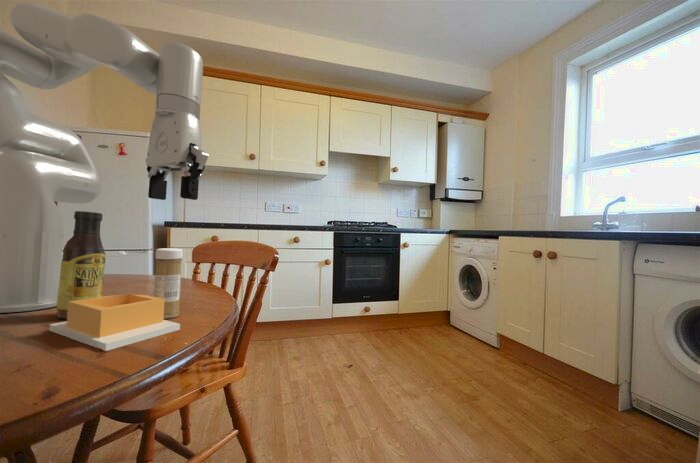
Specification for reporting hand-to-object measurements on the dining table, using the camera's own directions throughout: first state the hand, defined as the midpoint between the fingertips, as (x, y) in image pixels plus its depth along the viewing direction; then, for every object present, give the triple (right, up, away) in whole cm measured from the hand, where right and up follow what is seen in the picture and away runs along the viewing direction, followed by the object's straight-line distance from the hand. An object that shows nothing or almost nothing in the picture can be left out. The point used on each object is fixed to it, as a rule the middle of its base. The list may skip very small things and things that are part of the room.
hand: (172, 198), depth 57 cm
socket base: (-4, -23, -8) cm, 25 cm away
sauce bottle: (-17, -23, -2) cm, 28 cm away
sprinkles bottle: (-1, -23, 0) cm, 24 cm away
